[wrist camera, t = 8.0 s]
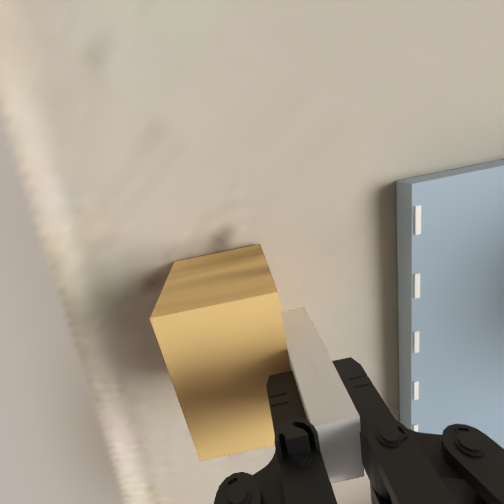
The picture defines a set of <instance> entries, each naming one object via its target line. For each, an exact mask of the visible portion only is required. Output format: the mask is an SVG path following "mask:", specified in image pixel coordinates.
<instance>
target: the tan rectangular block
mask: <svg viewBox="0 0 504 504" xmlns="http://www.w3.org/2000/svg"><path fill="white" fill-rule="evenodd" d="M150 321H151V324H152V327H153V329H154V332H155V335H156V338H157V341H158V344H159V346H160V349H161V352H162V355H163V358H164V361H165V363H166V366H167V369H168V372H169V375H170V377H171V380H172V383H173V386H174V389H175V392H176V394H177V397H178V400H179V403H180V406H181V408H182V411H183V414H184V417H185V420H186V423H187V425H188V428H189V431H190V434H191V437H192V440H193V442H194V445H195V448H196V451H197V454H198V456H199V459H200V461H204V460H208V459H213V458H217V457H222V456H226V455H231V454H236V453H240V452H245V451H249V450H254V449H258V448H263V447H268V446H272V445H275V434H274V428H273V422H272V417H271V411H270V405H269V399H268V394H267V388H266V385H267V381H268V378H269V376H270V375H274V374H279V373H284V372H288V371H291V367H290V361H289V355H288V349H287V342H286V337H285V331H284V325H283V319H282V314H281V308H280V302H279V296H278V291H277V289H276V286H275V283H274V280H273V278H272V275H271V272H270V270H269V267H268V264H267V261H266V259H265V256H264V253H263V251H262V248H261V245H260V244H258V245H253V246H248V247H243V248H239V249H234V250H229V251H224V252H219V253H214V254H209V255H204V256H199V257H194V258H190V259H185V260H180V261H175V262H174V264H173V266H172V268H171V271H170V273H169V275H168V277H167V280H166V282H165V284H164V287H163V289H162V291H161V294H160V296H159V298H158V300H157V303H156V305H155V307H154V310H153V312H152V314H151V317H150Z"/></svg>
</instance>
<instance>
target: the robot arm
mask: <svg viewBox="0 0 504 504" xmlns="http://www.w3.org/2000/svg"><path fill="white" fill-rule="evenodd" d="M281 314H282V319H283V325H284V331H285V337H286V342H287V349H288V355H289V361H290V367H291V371H288V372H284V373H279V374H274V375H270V376H269V378H268V381H267V385H266V388H267V394H268V399H269V405H270V411H271V417H272V422H273V428H274V434H275V447H276V450H275V454H274V456H273V458H272V460H271V461H270V463H269V464H268V465H267V466H266V467H264V468H263V469H262V470H260V471H259V472H257V473H255V474H254V475H250V474H248V473H244V472H239V473H234V474H232V475H230V476H229V477H227V478H226V479H225V480H224V481H223V482H222V484H221V485H220V486H219V489H218V491H217V494H216V497H215V501H214V504H337V502H336V499H335V495H334V492H333V489H332V486H331V483H336V482H340V481H345V480H349V479H354V478H358V477H363V476H364V468H365V471H366V473H367V475H368V477H369V480H370V488H371V502H372V504H504V449H503V448H502V447H501V446H500V445H498V444H497V443H496V442H495V441H493V440H492V439H491V438H490V437H488V436H487V435H486V434H484V433H483V432H481V431H480V430H478V429H477V428H474V427H471V426H468V425H466V424H453V425H449V426H447V427H446V428H445V429H444V430H443V434H442V435H440V434H430V433H421V432H416V431H413V430H410V429H408V428H406V427H405V426H404V425H403V424H402V423H400V422H398V421H397V420H396V419H395V418H394V417H393V415H392V414H391V412H390V411H389V409H388V408H387V406H386V404H385V403H384V401H383V400H382V398H381V396H380V395H379V393H378V392H377V390H376V388H375V387H374V385H372V382H371V380H370V379H369V377H367V374H366V372H365V371H364V369H363V368H362V366H361V365H360V364H359V363H358V362H356V361H355V360H354V359H352V358H351V357H350V358H345V359H341V360H336V361H332V360H331V358H330V356H329V354H328V352H327V350H326V348H325V346H324V344H323V342H322V340H321V338H320V336H319V334H318V332H317V330H316V328H315V326H314V324H313V322H312V320H311V318H310V316H309V314H308V312H307V310H306V308H305V307H302V308H298V309H293V310H288V311H283V312H281Z"/></svg>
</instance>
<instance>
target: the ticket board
mask: <svg viewBox="0 0 504 504" xmlns="http://www.w3.org/2000/svg"><path fill="white" fill-rule="evenodd" d="M396 201H397V267H398V333H399V399H400V423H402V424H403V425H404V426H405V427H406V428H408V429H410V430H413V431H416V432H421V433H430V434H440V435H442V434H443V430H444V429H445V428H446V427H447V426H449V425H453V424H466V425H468V426H471V427H474V428H477V429H478V430H480V431H481V432H483V433H484V434H486V435H487V436H488V437H490V438H491V439H492V440H493V441H495V442H496V443H497V444H498V445H500V446H501V447H502V448H503V449H504V159H502V160H497V161H492V162H487V163H482V164H477V165H472V166H467V167H462V168H457V169H452V170H447V171H443V172H438V173H433V174H428V175H423V176H418V177H413V178H408V179H403V180H398V181H396Z"/></svg>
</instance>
